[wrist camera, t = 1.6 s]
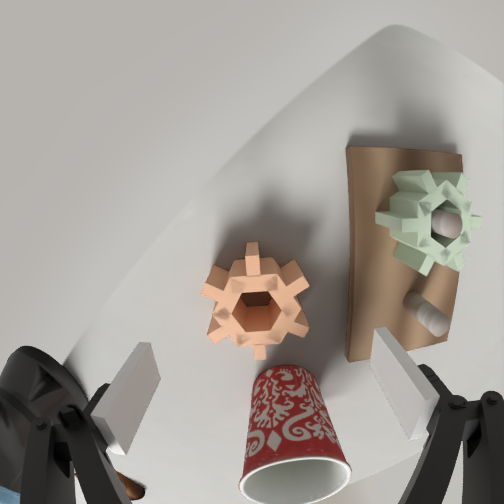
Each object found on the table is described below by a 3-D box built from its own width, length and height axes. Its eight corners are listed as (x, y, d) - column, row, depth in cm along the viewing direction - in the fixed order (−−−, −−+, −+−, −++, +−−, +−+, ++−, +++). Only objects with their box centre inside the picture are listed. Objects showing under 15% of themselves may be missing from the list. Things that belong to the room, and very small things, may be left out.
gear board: (344, 354, 28) (366, 398, 21) (345, 148, 24) (379, 136, 16) (440, 335, 28) (473, 366, 21) (453, 155, 23) (500, 152, 16)
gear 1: (242, 344, 28) (240, 373, 23) (191, 280, 27) (178, 300, 22) (319, 297, 27) (331, 320, 22) (271, 225, 25) (276, 235, 20)
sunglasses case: (112, 467, 35) (118, 499, 30) (141, 471, 40) (148, 500, 35) (72, 473, 38) (75, 499, 33) (97, 478, 42) (101, 502, 37)
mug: (227, 377, 29) (215, 478, 16) (303, 343, 28) (331, 443, 15) (279, 438, 32) (286, 522, 18) (343, 411, 31) (372, 495, 17)
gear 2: (374, 262, 25) (399, 280, 20) (373, 170, 23) (400, 168, 18) (448, 255, 24) (477, 268, 19) (449, 173, 22) (481, 174, 18)
